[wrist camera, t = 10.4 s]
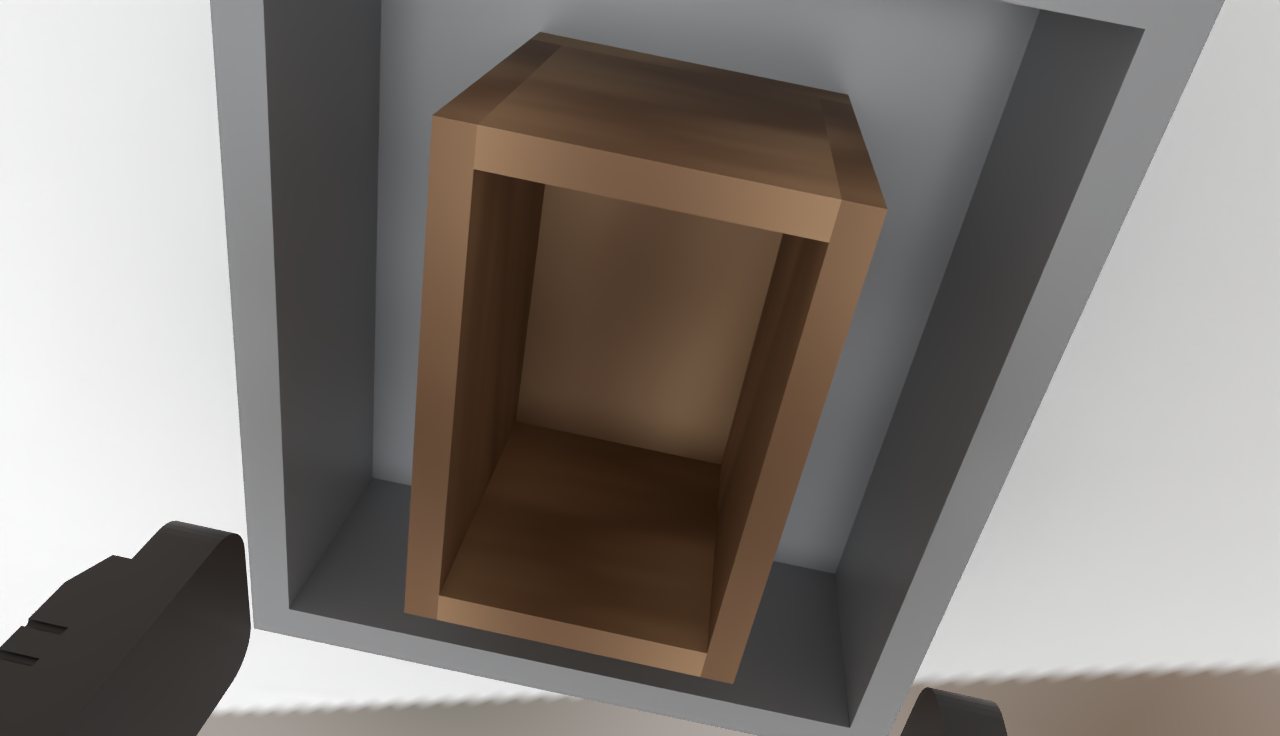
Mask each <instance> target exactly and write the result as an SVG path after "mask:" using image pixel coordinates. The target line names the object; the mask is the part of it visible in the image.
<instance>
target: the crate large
mask: <svg viewBox="0 0 1280 736" xmlns="http://www.w3.org/2000/svg"><path fill="white" fill-rule="evenodd" d="M1224 1H1225V0H210V6H211V20H212V34H213V48H214V63H215V77H216V91H217V106H218V120H219V134H220V149H221V163H222V177H223V191H224V206H225V220H226V234H227V249H228V263H229V277H230V292H231V306H232V320H233V335H234V349H235V363H236V377H237V392H238V406H239V420H240V435H241V449H242V463H243V478H244V492H245V506H246V521H247V535H248V549H249V563H250V578H251V592H252V606H253V621H254V628H255V629H260V630H265V631H269V632H274V633H279V634H283V635H288V636H293V637H297V638H302V639H307V640H312V641H316V642H321V643H326V644H330V645H335V646H340V647H345V648H349V649H354V650H359V651H363V652H368V653H373V654H377V655H382V656H387V657H392V658H396V659H401V660H406V661H410V662H415V663H420V664H424V665H429V666H434V667H439V668H443V669H448V670H453V671H457V672H462V673H467V674H471V675H476V676H481V677H486V678H490V679H495V680H500V681H504V682H509V683H514V684H519V685H523V686H528V687H533V688H537V689H542V690H547V691H551V692H556V693H561V694H566V695H570V696H575V697H580V698H584V699H589V700H594V701H598V702H603V703H608V704H613V705H617V706H622V707H627V708H632V709H636V710H641V711H645V712H651V713H655V714H660V715H664V716H669V717H674V718H678V719H684V720H688V721H693V722H697V723H702V724H707V725H711V726H716V727H721V728H725V729H730V730H735V731H740V732H745V733H749V734H754V735H758V736H888V735H889V733H890V731H891V729H892V726H893V724H894V722H895V720H896V718H897V716H898V713H899V711H900V709H901V706H902V705H903V702H904V700H905V698H906V696H907V694H908V691H909V689H910V687H911V685H912V683H913V681H914V678H915V676H916V674H917V672H918V670H919V667H920V665H921V663H922V661H923V659H924V657H925V654H926V652H927V650H928V648H929V646H930V643H931V641H932V639H933V637H934V635H935V632H936V630H937V628H938V626H939V624H940V622H941V619H942V617H943V615H944V613H945V611H946V608H947V606H948V604H949V602H950V600H951V597H952V595H953V593H954V591H955V589H956V587H957V584H958V582H959V580H960V578H961V576H962V573H963V571H964V569H965V567H966V565H967V563H968V560H969V558H970V556H971V554H972V552H973V549H974V547H975V545H976V543H977V541H978V538H979V536H980V534H981V532H982V530H983V528H984V525H985V523H986V521H987V519H988V517H989V514H990V512H991V510H992V508H993V506H994V503H995V501H996V499H997V497H998V495H999V493H1000V490H1001V488H1002V486H1003V484H1004V482H1005V479H1006V477H1007V475H1008V473H1009V471H1010V469H1011V466H1012V464H1013V462H1014V460H1015V458H1016V455H1017V453H1018V451H1019V449H1020V447H1021V444H1022V442H1023V440H1024V438H1025V436H1026V434H1027V431H1028V429H1029V427H1030V425H1031V423H1032V420H1033V418H1034V416H1035V414H1036V412H1037V409H1038V407H1039V405H1040V403H1041V401H1042V399H1043V396H1044V394H1045V392H1046V390H1047V388H1048V385H1049V383H1050V381H1051V379H1052V377H1053V375H1054V372H1055V370H1056V368H1057V366H1058V364H1059V361H1060V359H1061V357H1062V355H1063V353H1064V350H1065V348H1066V346H1067V344H1068V342H1069V340H1070V337H1071V335H1072V333H1073V331H1074V329H1075V326H1076V324H1077V322H1078V320H1079V318H1080V316H1081V313H1082V311H1083V309H1084V307H1085V305H1086V302H1087V300H1088V298H1089V296H1090V294H1091V291H1092V289H1093V287H1094V285H1095V283H1096V281H1097V278H1098V276H1099V274H1100V272H1101V270H1102V267H1103V265H1104V263H1105V261H1106V259H1107V256H1108V254H1109V252H1110V250H1111V248H1112V246H1113V243H1114V241H1115V239H1116V237H1117V235H1118V232H1119V230H1120V228H1121V226H1122V224H1123V222H1124V219H1125V217H1126V215H1127V213H1128V211H1129V208H1130V206H1131V204H1132V202H1133V200H1134V197H1135V195H1136V193H1137V191H1138V189H1139V187H1140V184H1141V182H1142V180H1143V178H1144V176H1145V173H1146V171H1147V169H1148V167H1149V165H1150V162H1151V160H1152V158H1153V156H1154V154H1155V152H1156V149H1157V147H1158V145H1159V143H1160V141H1161V138H1162V136H1163V134H1164V132H1165V130H1166V128H1167V125H1168V123H1169V121H1170V119H1171V117H1172V114H1173V112H1174V110H1175V108H1176V106H1177V103H1178V101H1179V99H1180V97H1181V95H1182V93H1183V90H1184V88H1185V86H1186V84H1187V82H1188V79H1189V77H1190V75H1191V73H1192V71H1193V68H1194V66H1195V64H1196V62H1197V60H1198V58H1199V55H1200V53H1201V51H1202V49H1203V47H1204V44H1205V42H1206V40H1207V38H1208V36H1209V34H1210V31H1211V29H1212V27H1213V25H1214V23H1215V20H1216V18H1217V16H1218V14H1219V12H1220V9H1221V7H1222V5H1223V3H1224ZM539 32H544V33H549V34H553V35H558V36H563V37H568V38H573V39H578V40H583V41H588V42H593V43H598V44H602V45H607V46H612V47H617V48H622V49H627V50H632V51H637V52H642V53H647V54H652V55H656V56H661V57H666V58H671V59H676V60H681V61H686V62H691V63H696V64H701V65H705V66H710V67H715V68H720V69H725V70H730V71H735V72H740V73H745V74H750V75H754V76H759V77H764V78H769V79H774V80H779V81H784V82H789V83H794V84H799V85H804V86H808V87H813V88H818V89H823V90H828V91H833V92H838V93H843V94H848V95H849V98H850V101H851V104H852V107H853V110H854V113H855V116H856V119H857V121H858V124H859V127H860V130H861V133H862V136H863V139H864V142H865V145H866V148H867V150H868V153H869V156H870V159H871V162H872V165H873V168H874V171H875V174H876V177H877V179H878V182H879V185H880V188H881V191H882V194H883V197H884V200H885V203H886V206H887V209H888V210H887V213H886V216H885V219H884V222H883V226H882V229H881V232H880V235H879V238H878V241H877V244H876V247H875V250H874V253H873V256H872V259H871V262H870V265H869V269H868V272H867V275H866V278H865V281H864V284H863V287H862V290H861V293H860V296H859V299H858V302H857V305H856V308H855V312H854V315H853V318H852V321H851V324H850V327H849V330H848V333H847V336H846V339H845V342H844V345H843V348H842V351H841V355H840V358H839V361H838V364H837V367H836V370H835V373H834V376H833V379H832V382H831V385H830V388H829V391H828V395H827V398H826V401H825V404H824V407H823V410H822V413H821V416H820V419H819V422H818V425H817V428H816V431H815V434H814V438H813V441H812V444H811V447H810V450H809V453H808V456H807V459H806V462H805V465H804V468H803V471H802V474H801V477H800V481H799V484H798V487H797V490H796V493H795V496H794V499H793V502H792V505H791V508H790V511H789V514H788V517H787V520H786V524H785V527H784V530H783V533H782V536H781V539H780V542H779V545H778V548H777V551H776V554H775V557H774V560H773V563H772V567H771V570H770V573H769V576H768V579H767V582H766V585H765V588H764V591H763V594H762V597H761V600H760V603H759V607H758V610H757V613H756V616H755V619H754V622H753V625H752V628H751V631H750V634H749V637H748V640H747V643H746V646H745V650H744V653H743V656H742V659H741V662H740V665H739V668H738V671H737V674H736V677H735V680H734V683H733V684H730V683H726V682H721V681H716V680H712V679H707V678H703V677H698V676H693V675H689V674H684V673H680V672H675V671H670V670H666V669H661V668H657V667H652V666H647V665H643V664H638V663H634V662H629V661H624V660H620V659H615V658H611V657H606V656H601V655H597V654H592V653H588V652H583V651H578V650H574V649H569V648H565V647H560V646H555V645H551V644H546V643H541V642H537V641H532V640H528V639H523V638H518V637H514V636H509V635H505V634H500V633H495V632H491V631H486V630H482V629H477V628H472V627H468V626H463V625H459V624H454V623H449V622H445V621H440V620H436V619H431V618H426V617H422V616H417V615H413V614H408V613H404V607H405V589H406V571H407V554H408V536H409V518H410V500H411V482H412V464H413V447H414V429H415V411H416V393H417V375H418V358H419V340H420V322H421V304H422V286H423V268H424V251H425V233H426V215H427V197H428V179H429V162H430V144H431V126H432V115H433V114H434V113H436V112H437V111H438V110H440V109H441V108H442V107H443V106H445V105H446V104H447V103H449V102H450V101H451V100H452V99H454V98H455V97H456V96H458V95H459V94H460V93H461V92H463V91H464V90H465V89H467V88H468V87H469V86H470V85H472V84H473V83H474V82H476V81H477V80H478V79H480V78H481V77H482V76H483V75H485V74H486V73H487V72H489V71H490V70H491V69H492V68H494V67H495V66H496V65H498V64H499V63H500V62H501V61H503V60H504V59H505V58H507V57H508V56H509V55H510V54H512V53H513V52H514V51H516V50H517V49H518V48H519V47H521V46H522V45H523V44H525V43H526V42H527V41H528V40H530V39H531V38H532V37H534V36H535V35H536V34H537V33H539Z"/></svg>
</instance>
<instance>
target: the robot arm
mask: <svg viewBox="0 0 1280 736" xmlns="http://www.w3.org/2000/svg"><path fill="white" fill-rule="evenodd" d="M250 630H251V622H250V610H249V598H248V585H247V573H246V561H245V549H244V543H243V540H242V538H241V537H240V536H239V535H238V534H235V533H230V532H226V531H221V530H216V529H212V528H207V527H203V526H198V525H193V524H189V523H184V522H180V521H171V522H169V523H167V524H166V525H164V526H163V527H162V528H161V529H160V530H159V531H158V532H157V533H156V534H155V535H154V536H153V537H152V538H151V539H150V540H149V541H148V542H147V543H146V544H145V546H144V547H143V548H142V549H141V550H140V551H139V552H138V553H137V554H136V555H135V556H134V557H133V558H132V559H129V558H124V557H120V556H115V555H112V556H110V557H109V558H107V559H105V560H103V561H102V562H100V563H98V564H96V565H95V566H93V567H91V568H89V569H87V570H86V571H84V572H82V573H80V574H79V575H77V576H75V577H73V578H72V579H70V580H68V581H66V582H65V583H64V584H63V585H62V586H61V587H60V588H59V589H58V590H57V591H56V592H55V593H54V594H53V595H52V596H51V597H50V598H49V599H48V600H47V601H46V602H45V603H44V604H43V605H42V606H41V607H40V608H39V609H38V610H37V611H36V612H35V613H34V614H33V615H32V616H31V617H30V618H29V621H28V624H27V625H26V626H25V627H23V626H21V627H20V628H19V629H18V630H17V631H16V632H15V633H14V634H13V635H12V636H11V637H10V638H9V639H8V640H7V641H6V642H5V643H4V644H3V645H2V646H1V647H0V736H196V735H197V734H198V732H199V731H200V729H201V728H202V726H203V725H204V724H205V722H206V720H207V719H208V718H209V716H210V715H211V713H212V712H213V710H214V709H215V707H216V706H217V704H218V703H219V701H220V700H221V698H222V697H223V695H224V694H225V692H226V691H227V689H228V688H229V686H230V685H231V683H232V682H233V680H234V678H235V677H236V675H237V673H238V671H239V669H240V667H241V664H242V662H243V659H244V657H245V654H246V651H247V647H248V643H249V638H250ZM901 736H1007V732H1006V729H1005V724H1004V721H1003V717H1002V714H1001V711H1000V709H999V707H998V706H997V705H996V703H994V702H992V701H988V700H984V699H979V698H974V697H970V696H965V695H961V694H956V693H951V692H947V691H942V690H938V689H933V688H929V687H927V688H925V689H924V690H922V692H921V693H920V695H919V697H918V698H917V701H916V703H915V705H914V707H913V709H912V712H911V714H910V716H909V718H908V720H907V723H906V725H905V727H904V729H903V731H902V733H901Z"/></svg>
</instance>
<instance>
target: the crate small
mask: <svg viewBox="0 0 1280 736" xmlns="http://www.w3.org/2000/svg"><path fill="white" fill-rule="evenodd" d="M887 210H888V209H887V206H886V203H885V200H884V197H883V194H882V191H881V188H880V185H879V182H878V179H877V177H876V174H875V171H874V168H873V165H872V162H871V159H870V156H869V153H868V150H867V148H866V145H865V142H864V139H863V136H862V133H861V130H860V127H859V124H858V121H857V119H856V116H855V113H854V110H853V107H852V104H851V101H850V98H849V95H848V94H843V93H838V92H833V91H828V90H823V89H818V88H813V87H808V86H804V85H799V84H794V83H789V82H784V81H779V80H774V79H769V78H764V77H759V76H754V75H750V74H745V73H740V72H735V71H730V70H725V69H720V68H715V67H710V66H705V65H701V64H696V63H691V62H686V61H681V60H676V59H671V58H666V57H661V56H656V55H652V54H647V53H642V52H637V51H632V50H627V49H622V48H617V47H612V46H607V45H602V44H598V43H593V42H588V41H583V40H578V39H573V38H568V37H563V36H558V35H553V34H549V33H544V32H539V33H537V34H536V35H535V36H534V37H532V38H531V39H530V40H528V41H527V42H526V43H525V44H523V45H522V46H521V47H519V48H518V49H517V50H516V51H514V52H513V53H512V54H510V55H509V56H508V57H507V58H505V59H504V60H503V61H501V62H500V63H499V64H498V65H496V66H495V67H494V68H492V69H491V70H490V71H489V72H487V73H486V74H485V75H483V76H482V77H481V78H480V79H478V80H477V81H476V82H474V83H473V84H472V85H470V86H469V87H468V88H467V89H465V90H464V91H463V92H461V93H460V94H459V95H458V96H456V97H455V98H454V99H452V100H451V101H450V102H449V103H447V104H446V105H445V106H443V107H442V108H441V109H440V110H438V111H437V112H436V113H434V114H433V115H432V126H431V144H430V162H429V179H428V197H427V215H426V233H425V251H424V268H423V286H422V304H421V322H420V340H419V358H418V375H417V393H416V411H415V429H414V447H413V464H412V482H411V500H410V518H409V536H408V554H407V571H406V589H405V607H404V613H408V614H413V615H417V616H422V617H426V618H431V619H436V620H440V621H445V622H449V623H454V624H459V625H463V626H468V627H472V628H477V629H482V630H486V631H491V632H495V633H500V634H505V635H509V636H514V637H518V638H523V639H528V640H532V641H537V642H541V643H546V644H551V645H555V646H560V647H565V648H569V649H574V650H578V651H583V652H588V653H592V654H597V655H601V656H606V657H611V658H615V659H620V660H624V661H629V662H634V663H638V664H643V665H647V666H652V667H657V668H661V669H666V670H670V671H675V672H680V673H684V674H689V675H693V676H698V677H703V678H707V679H712V680H716V681H721V682H726V683H730V684H733V683H734V680H735V677H736V674H737V671H738V668H739V665H740V662H741V659H742V656H743V653H744V650H745V646H746V643H747V640H748V637H749V634H750V631H751V628H752V625H753V622H754V619H755V616H756V613H757V610H758V607H759V603H760V600H761V597H762V594H763V591H764V588H765V585H766V582H767V579H768V576H769V573H770V570H771V567H772V563H773V560H774V557H775V554H776V551H777V548H778V545H779V542H780V539H781V536H782V533H783V530H784V527H785V524H786V520H787V517H788V514H789V511H790V508H791V505H792V502H793V499H794V496H795V493H796V490H797V487H798V484H799V481H800V477H801V474H802V471H803V468H804V465H805V462H806V459H807V456H808V453H809V450H810V447H811V444H812V441H813V438H814V434H815V431H816V428H817V425H818V422H819V419H820V416H821V413H822V410H823V407H824V404H825V401H826V398H827V395H828V391H829V388H830V385H831V382H832V379H833V376H834V373H835V370H836V367H837V364H838V361H839V358H840V355H841V351H842V348H843V345H844V342H845V339H846V336H847V333H848V330H849V327H850V324H851V321H852V318H853V315H854V312H855V308H856V305H857V302H858V299H859V296H860V293H861V290H862V287H863V284H864V281H865V278H866V275H867V272H868V269H869V265H870V262H871V259H872V256H873V253H874V250H875V247H876V244H877V241H878V238H879V235H880V232H881V229H882V226H883V222H884V219H885V216H886V213H887Z"/></svg>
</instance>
